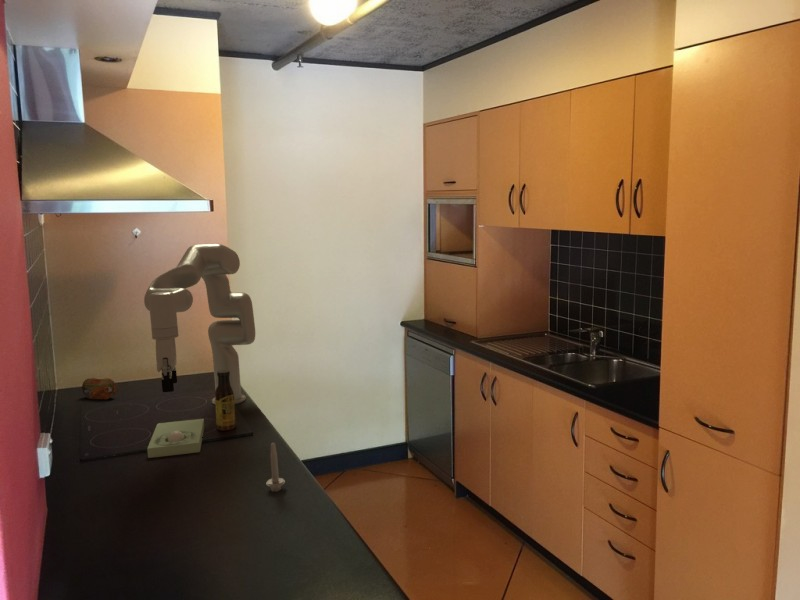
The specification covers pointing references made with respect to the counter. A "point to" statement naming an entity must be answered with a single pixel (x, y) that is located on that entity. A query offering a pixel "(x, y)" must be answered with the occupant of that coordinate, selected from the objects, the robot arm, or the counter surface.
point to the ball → (175, 436)
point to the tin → (99, 388)
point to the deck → (189, 445)
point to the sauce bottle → (224, 402)
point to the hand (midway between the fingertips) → (170, 387)
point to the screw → (274, 471)
